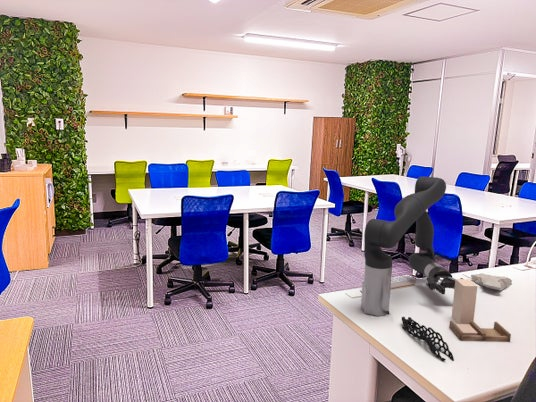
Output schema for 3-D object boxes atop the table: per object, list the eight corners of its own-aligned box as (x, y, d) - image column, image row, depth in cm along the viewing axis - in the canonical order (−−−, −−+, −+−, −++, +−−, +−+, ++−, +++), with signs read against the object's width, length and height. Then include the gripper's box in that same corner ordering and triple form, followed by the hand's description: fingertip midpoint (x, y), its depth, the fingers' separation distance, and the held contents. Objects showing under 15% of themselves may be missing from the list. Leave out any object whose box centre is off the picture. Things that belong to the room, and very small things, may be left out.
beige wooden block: (459, 329, 131) (463, 285, 129) (451, 320, 137) (455, 278, 135) (472, 329, 131) (477, 286, 129) (464, 320, 137) (468, 279, 134)
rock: (460, 287, 167) (499, 295, 156) (460, 276, 167) (499, 283, 156) (480, 279, 181) (517, 285, 170) (480, 268, 181) (518, 275, 170)
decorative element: (456, 365, 112) (458, 345, 111) (441, 367, 110) (443, 348, 109) (409, 327, 133) (410, 310, 132) (395, 328, 132) (397, 311, 131)
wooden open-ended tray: (459, 344, 122) (461, 333, 121) (448, 331, 130) (449, 320, 129) (509, 345, 122) (510, 334, 121) (495, 331, 130) (496, 321, 129)
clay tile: (462, 338, 123) (463, 332, 123) (454, 329, 129) (455, 323, 129) (477, 338, 123) (477, 332, 123) (468, 329, 129) (469, 324, 128)
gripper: (419, 265, 154) (436, 281, 138) (457, 266, 154) (478, 282, 138) (418, 284, 155) (434, 302, 139) (455, 284, 155) (476, 302, 139)
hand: (456, 292), depth 138 cm, fingers open, 8 cm apart
